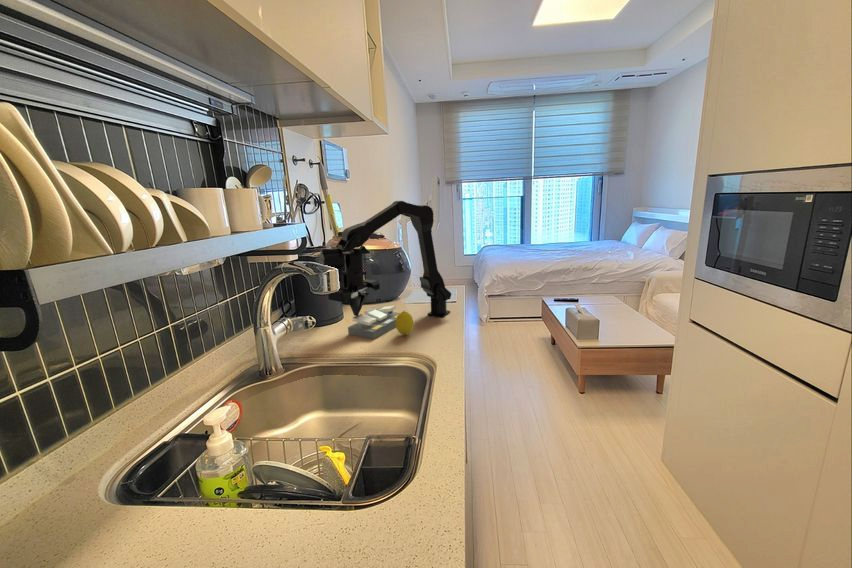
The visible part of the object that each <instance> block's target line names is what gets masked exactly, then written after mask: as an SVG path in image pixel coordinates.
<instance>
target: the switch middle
mask: <svg viewBox="0 0 852 568" xmlns="http://www.w3.org/2000/svg"><path fill="white" fill-rule="evenodd" d="M363 313H364V314H363V315H365V316H369V317H372V318H376V319H377V320H379V321H381V320H383V319H385V318H386V317H387V314H385V313H382V312H380V311H378V310H376V308H373V307H371V308H368V309H367V310H365V311H364V312H363Z"/></svg>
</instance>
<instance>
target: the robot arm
mask: <svg viewBox="0 0 852 568" xmlns="http://www.w3.org/2000/svg"><path fill="white" fill-rule="evenodd" d="M400 215H401V216H404V217H408V218H409V219H410V221H411V224H412V226H413V229H414V230H415V231H416V233H417V238H418V245H419V249H420V254H421V255H420V256H421V260H422V266H423V275H422V276H420V277H419V282H420V288H421V289H422V290H423V292H424V293H426V296H427V297H430V311H429V312H427V316H433V317H441V318H444V317H445V316H447V315H449V314H450V313H451V310H448V307H447V301H448V300H450V299H451V297H452V292H450V290H448V288H446V285H445V282H444V279H443V276H442V275H441V273H440V272H439V270H438V264H437V258H436V253H435V247H434V246H435V245H434V241H433V233H432V229H433V226H434V211H433V208H432V207H430V206H429V205H423V204H422V205H421V204H419V205H418V204H415V203H414V204H413V203H410V202H407V201H404V200H395V201H393V202H392V203H391V204H389V205H388V206H386V207H385V208H384V209H382V210H381V211H379V212H377V213H375V214H374V215H373V216H371V217H369V218H368V219H366V220H365V221H363V222H359V223H357V224H354V225H351V226H349V227H346V228H344V230H342V232H341V238H340V239H339V241H338V243H337V244H336V246H335V248H334V247H333V248H325V247H323V248H320V253H319V258H318V264H319V263H320V264H323V265H328V266H331V267H335V268H337V269H338V270H337V271H341V270H342V269H343V268H344V271H342V273H341V276H339V281H340V287H339V288H340V289H339V291H338V292H335V293H331V294H328V293H327V294H328V295H327V298H328V300H330V301H335V302H340V303H345V302H347V303H348V305H349V306H350V308H351V311H352V313H353V317H355V316H357V315H359V314H360V312H361V310H362V308H363V306H364V303H365V301H366V300H367V298H368V296H370V293H367V292H366V290H367V289H368V290H369V289H370V288H371V290H372V291H378V290H380V283H379V281H378V280H375V279H367V278H366V279H365V275H367V270H365V268H364V255H366V254H370V253H371V251H370V250H368V248H366V246H365V245H364V244H365V243H366V242H367V241H368V240H370V237H372V235H373V234H374V233H375V232H376V231H378V230H380V228H382V227H384V226H386V224H388V223H390V222H392V221H394V220H395V219H396V218H398V217H399V216H400Z"/></svg>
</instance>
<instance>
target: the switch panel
mask: <svg viewBox="0 0 852 568" xmlns="http://www.w3.org/2000/svg"><path fill="white" fill-rule="evenodd" d="M382 313H385V314H387V317H386V318H385V319H383V320H381V321H379V320H377V319H376V322H374V323H372V324H370V325H365V324H362V323H359V322H356V323H353V324H352V325H350V326H348V327H347V331H348V333H347V334H348V336H354V337H358V338H362V339H369V340H375V339H378V338H379V337H381V336H383V335H384V334H386V333H387V332H389V331H392V330H394V329H395V328H396V318H397V316H398V314H400V313H401V312H395V311H394V310H392V311H390V312H382Z"/></svg>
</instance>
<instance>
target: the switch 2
mask: <svg viewBox="0 0 852 568" xmlns="http://www.w3.org/2000/svg"><path fill="white" fill-rule="evenodd" d="M396 309H397V305H388V306H380V307H378V308H375V310H378V311H380V312H390V311H392V310H393V311H394V310H396Z"/></svg>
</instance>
